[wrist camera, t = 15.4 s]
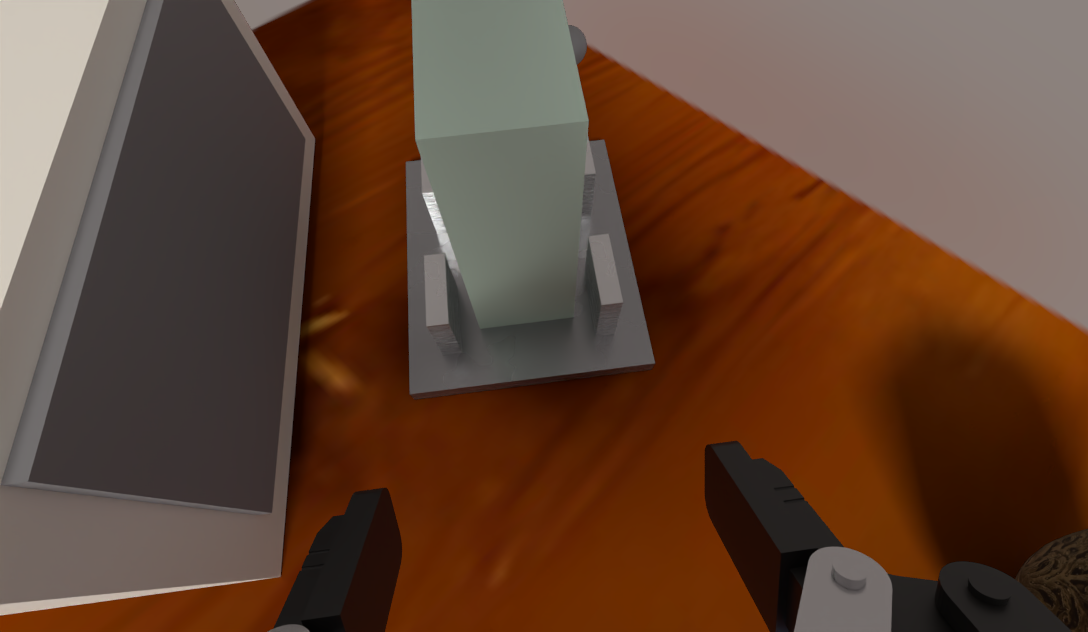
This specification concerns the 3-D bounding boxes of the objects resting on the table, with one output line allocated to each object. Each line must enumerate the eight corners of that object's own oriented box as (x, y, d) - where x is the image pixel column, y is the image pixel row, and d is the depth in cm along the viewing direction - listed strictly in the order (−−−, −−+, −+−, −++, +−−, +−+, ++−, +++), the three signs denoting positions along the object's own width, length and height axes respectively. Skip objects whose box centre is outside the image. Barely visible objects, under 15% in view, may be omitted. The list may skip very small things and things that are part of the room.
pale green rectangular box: (480, 328, 22) (415, 140, 12) (469, 195, 25) (410, -47, 15) (596, 314, 22) (631, 116, 12) (572, 183, 25) (583, -64, 15)
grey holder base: (414, 399, 21) (387, 370, 18) (410, 172, 26) (388, 115, 23) (651, 369, 22) (670, 335, 18) (602, 150, 27) (610, 91, 23)
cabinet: (-2, 615, 18) (-819, 711, 7) (124, 159, 27) (-168, -105, 16) (294, 574, 19) (-73, 610, 8) (324, 137, 27) (171, -136, 16)
